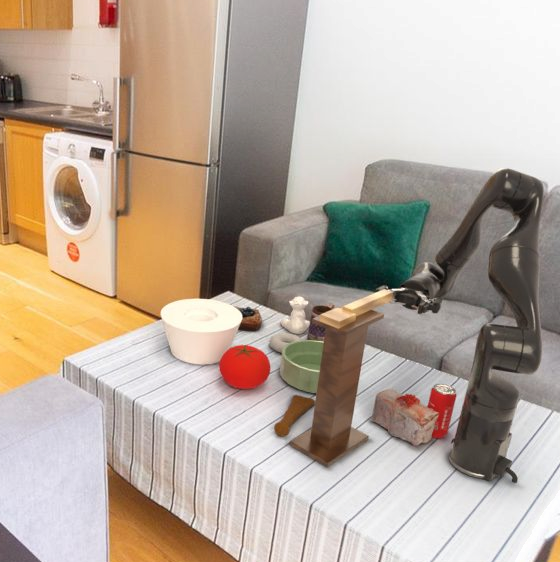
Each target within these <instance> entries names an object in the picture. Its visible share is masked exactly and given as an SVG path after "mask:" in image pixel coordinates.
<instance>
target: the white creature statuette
mask: <svg viewBox="0 0 560 562" xmlns="http://www.w3.org/2000/svg"><path fill="white" fill-rule="evenodd" d="M289 305H290V306H291V309H292V311H291V312H290V317H289V319H288V318H282V319H281V320H280V324H281V327H283V328H285V330H287V331H289V332H290V334H293V335H302V334H304V333H305V332H306V330H308V329H309V326H310V320H308V319H307V316H306V313H305V310H304V309H306V306H308V305H309V301H308V300H306V299H305V298H304V297H303V296H295V297H294V298H293V299H291V300H289Z"/></svg>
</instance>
